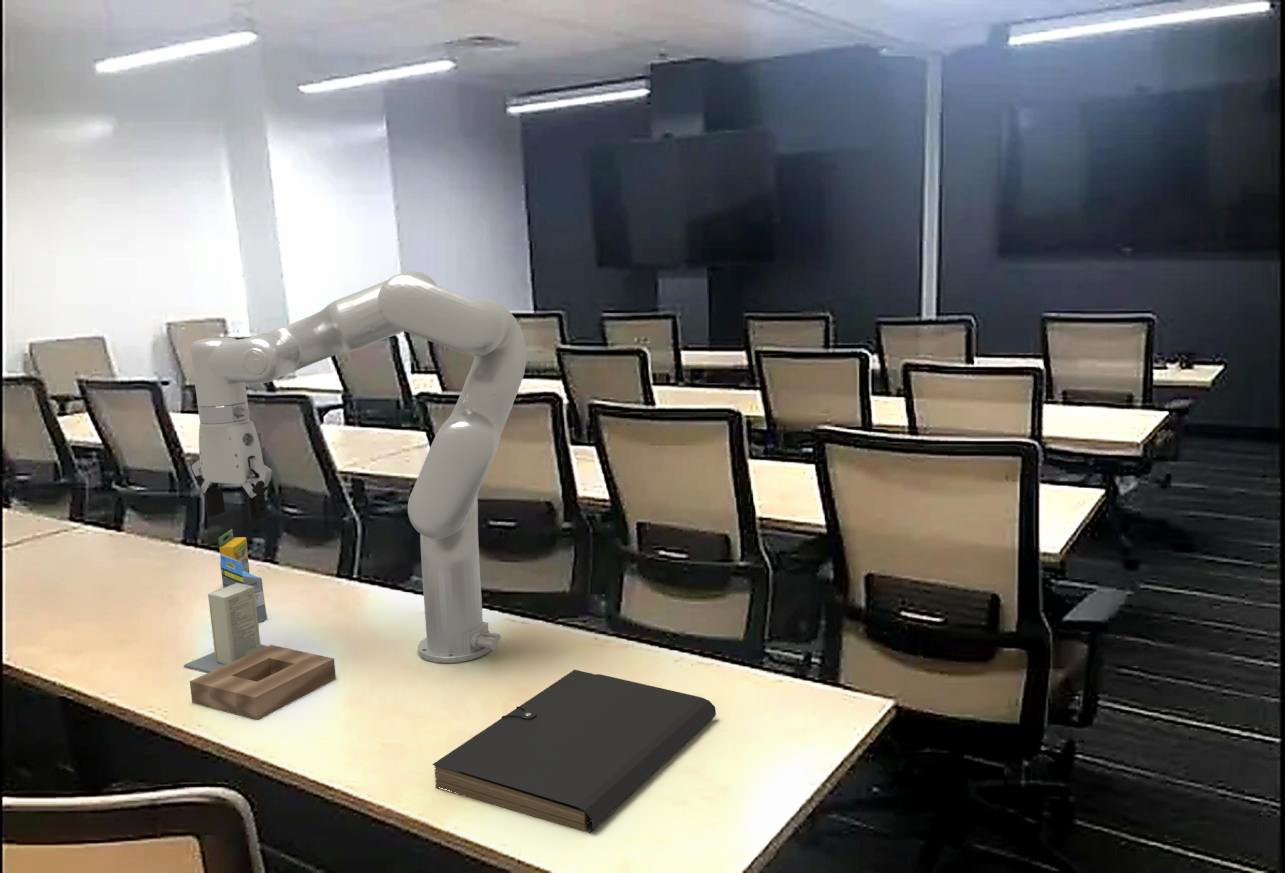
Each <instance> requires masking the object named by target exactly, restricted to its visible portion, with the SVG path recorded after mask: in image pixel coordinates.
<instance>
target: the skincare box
mask: <svg viewBox="0 0 1285 873" xmlns="http://www.w3.org/2000/svg"><path fill="white" fill-rule="evenodd" d="M207 597H208V604H209V606H208V607H209V614H210V616H209V617H210V624H211V630H212V632H211V633H212V640H213V652H215V660H216V662H219V663H222V664H226V665H227V664H229V663H231V662H234V661H236V660H238V659H240V658H243V657H245V656H247V655H249V654H252V653H254V652H256V651H258V650H260V649H261V646H260V644H261V640H260V638H261V637H260V628H259V623H258V618H257V608H256V599H255V589H254V586H250V585H246V584H241V583H235V584H232V585H230V586H227V587H224V588H223V587H222V588H220V589H217V590H213V591H211V592H208V594H207Z"/></svg>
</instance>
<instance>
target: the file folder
mask: <svg viewBox="0 0 1285 873" xmlns="http://www.w3.org/2000/svg"><path fill="white" fill-rule="evenodd" d="M716 715H717V710H716V706H715V705H714V704H713V703H712V702H711V701H710V700H709V699H707V698H704V697H702V696H698V695H692V694H689V693H684V692H680V691H675V690H671V689H666V688H662V687H657V686H654V685H648V684H645V683H640V682H635V681H631V680H626V679H622V678H618V677H613V676H611V675H610V676H609V675H604V674H599V673H596V674H595V673H591V672H588V671H587V672H586V671H582V670H578V669H573V670H572V671H570V672H569V673H568V674H566V675H564V676H563V677H561V678H560V679H558V680H557V681H556V682H554V683H552V684H551V685H549V686H548V687H546V688H545V689H543V690H541V692H538V693H537V694H536V695H534V696H533V697H531V698H529V699H528V700H527V701H525V702H524V703H522V704H520V705H519V706H516V708H514V709H513V710H511V711H510V712H509V713H507V714H506V715H502V716H501V718H499V719H498V720H497V721H495V722H493V723H492V724H490V725H489V726H488V727H486V728H484V729H483V730H481V731H480V732H479V733H477V734H476V735H474V736H473V737H471V738H470V739H468V740H466V741H465V742H464V743H462V744H460V745H459V746H458V747H456V748H455V749H453V750H451V751H450V752H449V753H447V754H446V755H444V756H443V757H441V758H440V759H438V760H436V761H435V762H434V763H432V766H433V768H434V770H433V771H434V779H435V780H434V783H435V784H434V785H435V788H436V789H440V788H443V789H447V790H450V791H452V792H456V793H458V794H457V795H459V796H462V795H465V796H466V797H465V796H464V797H465V798H469V799H472V800H476V801H479V802H482V803H486V804H490V805H494V806H499V807H502V808H505V809H508V810H512V811H516V812H519V813H522V814H525V815H529V816H532V817H536V818H538V819H542V820H545V821H549V822H551V821H552V822H553V823H554V824H555V823H556V824H559V825H562V826H565V827H570V828H573V829H576V830H580V831H583V832H586V831H587V825H588V824H589V823H591V826H592V829H590V831H588V834H590V833H591V832H592V831H593V830H594V829H595V828H597V827H598V826H599V825H600V824H601V823H602V822H603V821H604V820H605V819H606V818H607V817H608V816H609V815H610V814H612V813H613V812H614V811H615V810H616V809H617V808H618V807H619V806H620V805H621V804H622V803H624V801H626V799H628V798H629V797H630V796H631V795H632V794H634V792H635V791H637V789H639V787H641V786H642V785H643V784H644V783H645V782H646V781H647V780H648V779H650V777H652V776H653V775H654V774H655V773H656V772H657V771H658V770H659V769H660V768H661V767H662V766H664V765H665V763H667V762H668V761H669V760H671V758H673V756H674V755H676V753H678V752H679V751H680V750H681V749H682V748H683V747H684V746H685V745H686V744H687V743H688V742H689V741H690V740H691V739H692V738H694V737H695V736H696V735H697V734H698V733H699V732H700V731H701V730H702V729H703V728H704V727H705V726H707V725H708V723H710V722H711V721H712V720H713V719H714V718H715V717H716ZM439 787H440V788H439ZM440 790H441V789H440ZM447 790H446V792H448V791H447ZM452 792H451V793H452Z"/></svg>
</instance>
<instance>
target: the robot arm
mask: <svg viewBox="0 0 1285 873" xmlns="http://www.w3.org/2000/svg"><path fill="white" fill-rule="evenodd" d="M404 332H406V333H409V334H411V335H413V336H415V337H418V338H421V339H422V340H426V341H429V342H431V343H434V344H436V345H439V346H441V347H443V348H447V349H450V350H452V351H455V352H458V353H460V354H464V355H468V356H472V357H473V360H472V361H473V362H472V365H471V367H470V370H469V372H468V374H467V377H466V379H465V382H464V385H463V387H462V389H461V392H460V394H459V397H458V399H457V402H456V403H455V405H454V408H453V410H452V412H451V414H450V416H448V418H447V419H446V420H445V421H444V422H443V424H442V425H441V426H440V427H439V429H438V430H437V432H436V433H435V437H434V438H433V441H432V443H431V445H430V446H429V447H430V448H429V450H428V452H427V455H426V458H425V460H424V462H423V465H422V466H421V470H420V472H419V474H418V476H417V479H416V481H415V484H414V486H413V488H412V491H411V493H410V495H409V498H408V501H407V502H408V503H407V514H408V518H409V521H410V523H411V525H412V526H413V528H414V529H415V530H416V532H418V533H419V534H420V536H419V538H420V542H419V543H420V556H421V560H420V561H421V577H422V589H423V592H422V593H423V603H424V605H423V606H424V619H425V632H426V633H425V635H426V637H425V638H423V639H422V640H421V641H420V642H419V643H418V646H417V651H418V654H419V656H420V657H421V658H422V659H424V660H427V661H430V662H432V663H433V662H434V663H443V664H446V663H447V664H451V663H460V662H461V663H462V662H467V661H471V660H475V659H478V658H481V657H482V656H484V655H487V654H488V653H489V652H490V651H492V650H493V651H495V650H497V649H498V647H499V642H500V641H501V637H502V636H501V634H500V633H496V632H490V630H489V622H486V621H484V620H483V618H484V617H483V604H482V603H483V601H482V600H483V599H482V587H481V586H482V585H481V584H482V583H481V570H480V569H481V568H480V567H481V566H480V550H479V549H480V548H479V547H480V546H479V520H478V519H479V517H478V516H479V504H478V503H479V502H478V500H479V498H478V494H479V491H480V489H481V487H482V485H483V482H484V480H485V478H486V475H487V473H488V471H489V468H490V466H491V464H492V462H493V459H494V458H495V455H496V453H497V450H498V447H499V444H500V439H501V435H502V433H503V431H504V428H505V425H506V422H507V419H508V418H509V415H510V413H511V411H512V409H513V405H514V402H515V400H516V397H517V394H518V393H519V390H520V387H521V384H522V381H523V378H524V375H525V371H526V366H527V365H526V364H527V346H526V341H525V336H524V333H523V330H522V328H521V326H520V324H519V323H518V320H517V319H516V318H515V316H514V315H513V314H512V312H511V311H510V310H509V308H507V306H505V305H504V304H502V303H501V302H500V301H498V300H496V299H493V298H492V297H491V298H489V297H476V298H471V297H468V296H467V295H463V294H461V293H458V292H455V291H453V290H450V289H447V288H444V287H443V286H440V285H438V284H437V283H436V282H435V280H434V279H433V278H432V277H430V276H429V275H428V274H425V273H423V272H421V271H408V272H407V271H405V272H401V273H398V274H395V275H392V276H391V277H389V278H388V279H386V280H384V281H381V282H379V283H377V284H374V285H372V286H369V287H367V288H364V289H361V290H359V291H356V292H354V293H351V294H348V295H346V296H343V297H341V298H338V299H336V300H334V301H332V302H330V303H328V304H327V305H326V306H325V307H324V308H323V309H321V310H320V311H317V312H316V313H314V314H311V315H309V316H306V317H305V318H302V319H299V320H297V321H294V322H291V323H290V324H287V325H284V326H282V327H279V328H277V329H276V328H275V329H274V330H270V331H268V332H264V333H261V334H257V335H253V336H250V337H245V338H239V339H237V338H235V337H230V336H228V337H227V336H226V337H225V336H224V337H223V336H222V337H221V336H220V337H219V336H218V337H208V338H202V339H198V340H195V341H193V343H192V344H191V348H190V354H191V356H190V357H191V364H192V371H193V379H194V385H195V387H194V388H195V393H196V394H195V395H196V401H197V402H196V403H197V409H198V416H199V425H198V426H199V428H198V454H199V459H198V460H197V461H195V462H194V463H193V464H191V470H192V472H193V474H194V476H195V481H196V483H197V484H199V485H200V492H202V493H203V495H204V496H203V497H204V502H205V510H206V516H207V517H211V518H212V517H215V516H217V515H221V514H224V513H225V510H226V509H225V501H224V493H223V489H222V488H220V486H221V485H230V486H242V488H243V489H244V490H245V493H247V495H248V497H246V506H247V513H248V514H247V515H248V520H249V522H257V521H259V520H263V519H265V518H266V517H267V514H268V512H267V506H266V497H265V494H266V495H267V492H268V488H269V487H270V485H271V482H270V481H271V480H272V475H273V470H272V469H271V468H270V467H269V466H267V465H266V464H265V463H264V459H263V453H262V447H261V445H260V444H261V443H260V440H259V436H258V433H257V429H256V426H255V424H254V421H252V420H250V414H251V412H250V409H249V402H248V395H247V394H248V393H247V387H246V383H248V384H266V383H270V382H274V381H276V380H277V379H279V378H281V377H283V376H286V375H289V374H291V373H294V372H296V371H299V370H301V369H304V368H306V367H308V366H312V365H314V364H316V363H318V362H321V361H323V360H325V359H326V360H327V359H329V358H332V357H334V356H337V355H341V354H348V353H353V352H355V351H358V350H362V349H363V348H366V347H368V346H370V345H373V344H376V343H378V342H381V341H384V340H387V339H389V338H391V337H394V336H396V335H398V334H401V333H404ZM252 484H254V487H253V486H252Z"/></svg>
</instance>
